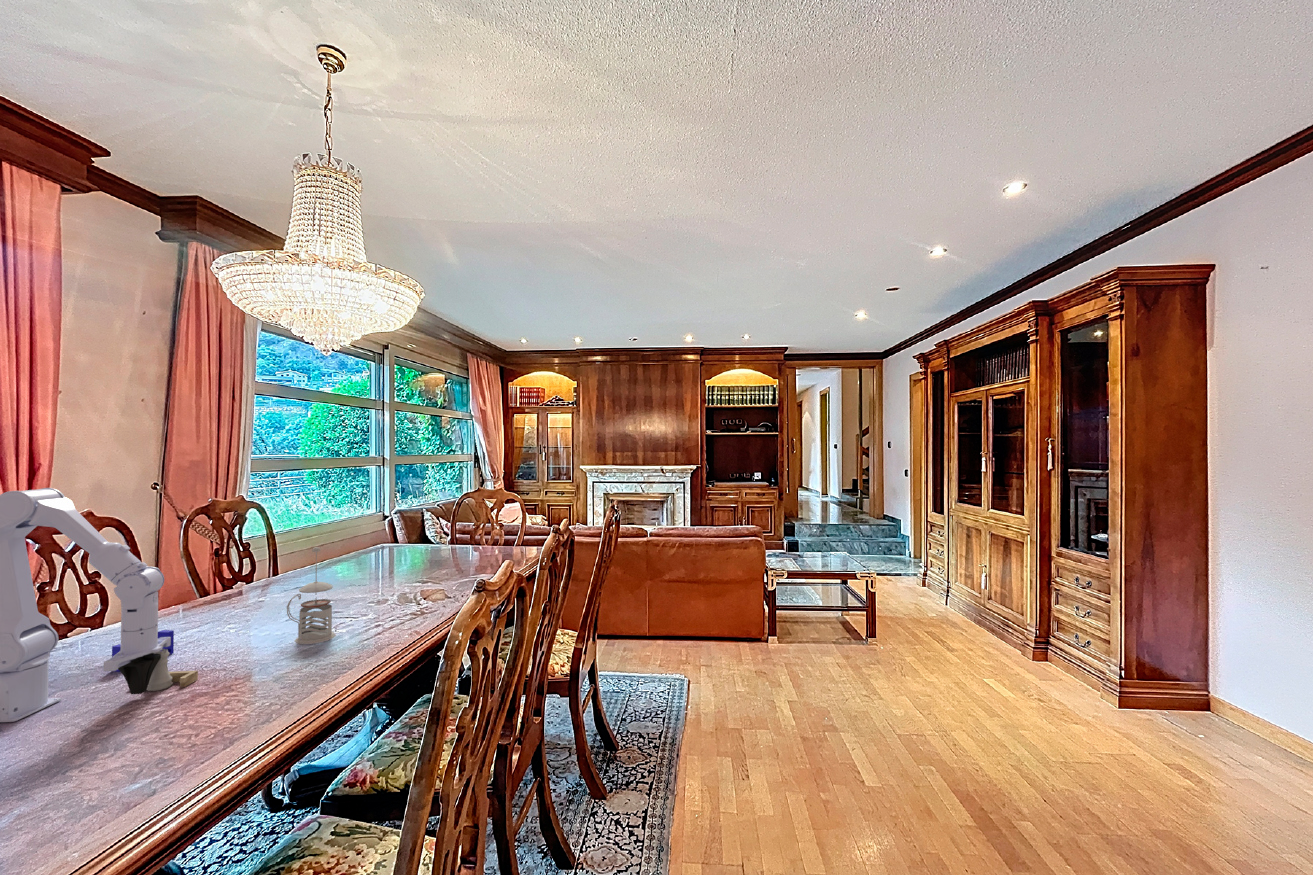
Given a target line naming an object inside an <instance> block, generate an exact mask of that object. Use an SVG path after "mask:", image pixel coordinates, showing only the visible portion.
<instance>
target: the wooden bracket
mask: <svg viewBox="0 0 1313 875" xmlns="http://www.w3.org/2000/svg"><path fill="white" fill-rule="evenodd" d="M168 672H169V673H170V676H172V678H173V679H172V682H173V683H179V688H185V687H188V686H189V685H190V684H192V683H194V682H196V681H198V680H199V671H198V670H183V671H177V670H176V671H168Z"/></svg>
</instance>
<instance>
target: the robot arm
mask: <svg viewBox="0 0 1313 875" xmlns="http://www.w3.org/2000/svg"><path fill="white" fill-rule="evenodd" d="M37 527H49V528H55V529H56V530H57V531H59V532H60V533H62V534H63V535H64V536H65V537H67V538H68V539H69V540H71V541H73V543H75V544H77V545H78V546H79V547H80V548H81V549H83V550H84V551H85V552H87V553H88V554H89V555H88V563H89V564H90V565H91V566H92V567H93V568H94V569H95V570H96V571H98V572H99V573H100V574H101V575H103V577H105V578H106V579H107V580H108V581H109V582H111V583H112V584H113V585H115V587H113V591H114V594H115V596H116V597H117V598H118V599H119V600H120V606H121V607H120V608H121V613H120V615H121V616H120V644H121V651H120V652H118V653H117V654H116V655H114V656H113V657H112V656H111V657H110V658H109V659H107V660H105V661H103V672H115V671H116V670H119V671H120V672H119V673H121V674H122V676H123V678H124V679H125V681H126V683H127V686H128V689H129V692H130V693H129V694H130V695H142V694H144V693H145V692H147V691H148V690H147V687H148V684H149V681H150V678H151V675H152V672H153V670H154V668H155V666H156V665H157V663H158V661H159V660H160V659H161V654H154V653H156V652H159V651H161V650H162V648H163V647H168V646H170V645H171V637H161V638H158V632H159V631H158V630H159V629H158V628H159V590H161V588H162V587H163V586H164V584H165V576H164V573H163V572H162V571H161V570H160V568H158V567H155V566H148V564H147V563H146V562H145V561H143V562H142V561H141V560H140V559H139V558H138V557H137V556H136V555H134V554H133V553H132V552H131V551H129V550H131V547H130V546H129V545H127V544H122V543H120V542H111V541H110V542H109V541H108V540H107V539H106V538H105V537H104V535H102V534H101V533H100V532H99V531H98V530H97V528H95V527H94V526H93V525H92V524H91V523H90V522H89V521H88V520H87V519H86V518H85V517H84V516H83V515H82V514H81V513H80V512H79V511H78V510H77V509H76V506H75V505H74V502H73V500H71V499H70V498H68V497H65V494H64V493H62V491H61V490H59V489H56V488H54V487H42V488H38V489H37V488H36V489H29V490H28V489H27V490H9V491H6V492H3V493H1V494H0V723H13V722H17V721H19V720H21V719H23V718H26V717H27V716H30V715H32V714H34V713H36V712H39V711H40V710H43V709H45V708H47V707H49V706H52V705H54V704H56V703H58V702H59V701H61V700H62V698H61V697H49V663H50V662H49V658H50V657H51V652H52V651H53V650H54V649H55V648H56V647H57V645H58V643H59V634H58V632H57V631H56V630H55V629H54V628H53V626H52V625H51V622H50V621H51V620H50V618H49V617H48V616H46V615H44V614H43V613H40V612H39V610H38V604H37V599H36V598H37V597H36V594H35V587H34V582H33V576H32V572H31V564H30V560H29V556H28V550H27V548H28V547H27V545H26V536H28V535H29V534H30V533H31V532H32V531H33V530H34V529H36V528H37Z"/></svg>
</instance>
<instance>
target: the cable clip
mask: <svg viewBox="0 0 1313 875" xmlns="http://www.w3.org/2000/svg"><path fill="white" fill-rule="evenodd" d="M174 636H175V631H174V630H173V629H171V630H169V629H162V630H159V631H158V638H161V637H171V645H170V646H168V647H163V648H162V649H165V650H166V649H168V652H169V653H170V654H169V656H171V655H172V653H173V654H174V652H175V651H174V644H175V642H174V641H175V637H174ZM120 651H121V643H119V644H115V645H112V646H111V658H112V657H113V656H114V655H116V654H117V653H118V652H120ZM161 651H162V650H161ZM114 672H115V673H121V672H120V671H119V670H116V671H114Z"/></svg>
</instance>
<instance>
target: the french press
mask: <svg viewBox="0 0 1313 875" xmlns="http://www.w3.org/2000/svg"><path fill="white" fill-rule="evenodd" d="M313 552H315V581H313V582H309V583H307V584H305V585H304V586H302V587H300V588H299V589H298V591H299V593H297V594H295V595H294V596H293V597H291V599H289V601H288V603H287V606H286V615H287V617H288V618H289V620H291V621H292V622H295V623H297V624H298V626H297V627H298V630H297V631H298V632H297V633H298V635H297V637H296V639H294V643H295V642H296V643H295V644H299V645H310V644H311V645H312V644H319V643H323V642H326V641H330V640H331V639H334V638H335V637H336V636H337V635H336V633H335V632H334V631H333V628H332V627H333V626H332V625H333V624H332V622H333V620H332V619H333V615H332V614H333V606H332V605H331V599H328V598H327V599H326V598H320V599H319V598H318V599H310V600H307V601H303V602H302V603H300V607H301V608H300V609H299V619H297V618H295V617H294V616H292V614H291V612H290V605H291V602H292V600H293V599H295V598H297V597H298V600H299V601H300V600H301V599H302V594H311V593H312V594H316V593H321V592H327V591H330V590H332V589H333V587H334V585H332V584H330V583H328V582H324V581H317V580H318V577H317V571H318V570H317V568H318V565H317V564H318V563H317V562H318V560H317V558H318V555H317V554H318V552H321V548H320V547H319V546H315V547H313V548H312V553H313ZM301 593H302V594H301ZM314 609H316V610H314ZM312 610H313V611H312ZM319 619H321V620H319ZM315 623H316V624H315ZM317 623H318V624H317ZM321 624H322V625H321ZM329 639H330V640H329ZM318 642H319V643H318Z"/></svg>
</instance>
